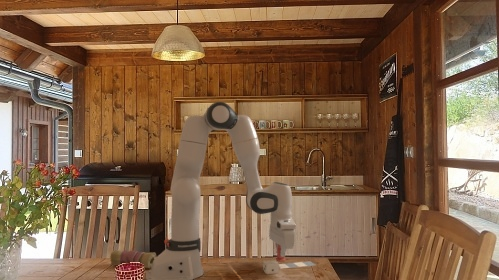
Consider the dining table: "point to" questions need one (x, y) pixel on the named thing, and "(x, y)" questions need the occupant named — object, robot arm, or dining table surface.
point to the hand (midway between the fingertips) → (280, 255)
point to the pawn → (279, 254)
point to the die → (270, 266)
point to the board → (296, 264)
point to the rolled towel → (132, 257)
